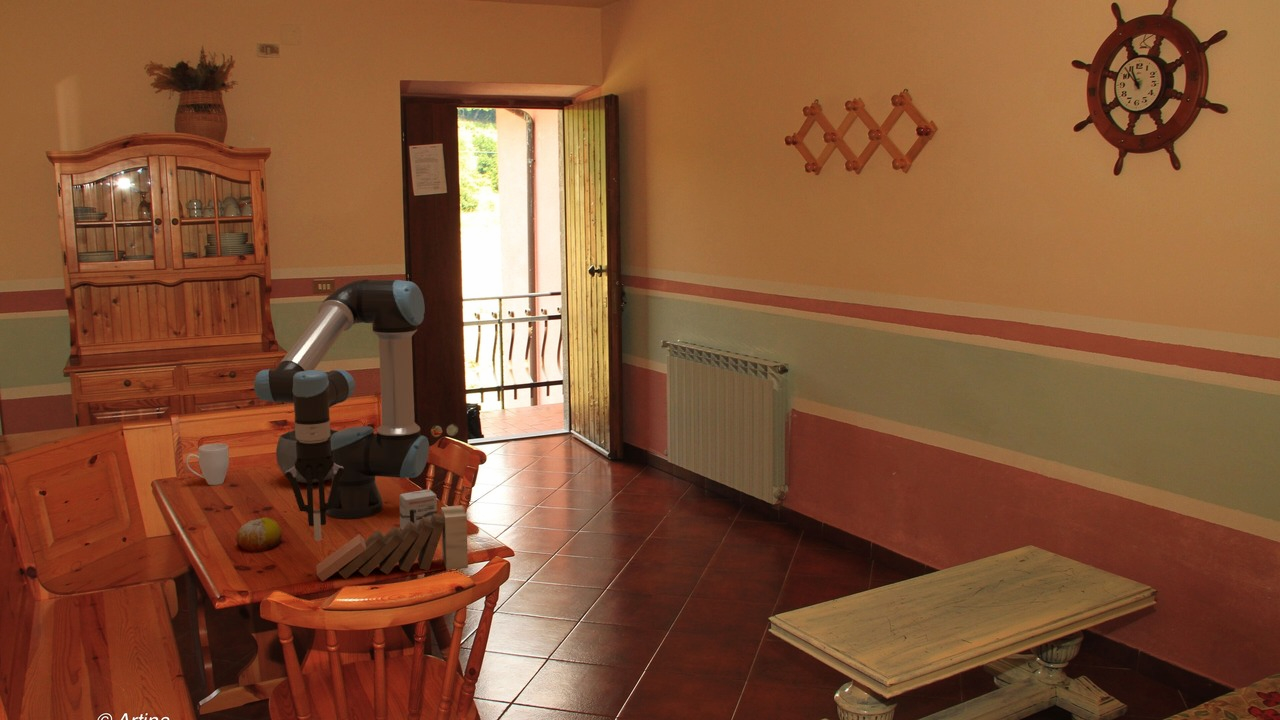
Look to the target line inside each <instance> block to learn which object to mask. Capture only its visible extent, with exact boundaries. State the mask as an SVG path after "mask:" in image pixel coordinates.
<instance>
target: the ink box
mask: <svg viewBox="0 0 1280 720" xmlns="http://www.w3.org/2000/svg"><path fill="white" fill-rule="evenodd" d="M437 500H438V499H437V494H436V493H435V492H434V491H433V490H431V489H428V488H427V489H423V490H418V491H410V492H405V493H400V494H399V530H400V531H402V530H403V529H404V528H405V526H406V525H407V524H408V523H409V521H411V522H413V523H414V524H416V525H418V524H419V522H420V520H421V518H422V517H425V518H427V519H429V520H431V518H432V515H433V513H435V514H438V504H437V503H438V501H437Z"/></svg>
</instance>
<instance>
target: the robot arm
mask: <svg viewBox="0 0 1280 720" xmlns="http://www.w3.org/2000/svg"><path fill="white" fill-rule="evenodd" d="M424 299H425V298H424V295H423V293H422V291H421V289H420V288H419V286H418V285H417V284H416V283H415V282H413V281H409V280H400V279H365V278H364V279H362V278H361V279H357V280H352V281H350V282H348V283H345V284H344V285H341V286H340V287H338V288H337V289H335V290H334V291H333V292H332V293H330V294H328V296H327V297H326V298H325V299H324V300H323V301H322V302H321V304H320V305H319V307H318V310H317V311H318V312H317V313H318V314H317V315H316V316H315V318H314V319H313V320H312V321H311V323H310V324H309V325H308V327H306V329H305V330H304V331H303V333H302V334H301V335H300V337H299V338H297V340H296V342H295V343H294V344H292V345H293V346H291V348H290V349H289V350H288V352H287V353H286V354H285V355H284V357H283V358H282V359H281V361H280V362H279V363H278V364H277V366H276V367H275V368H274V369H272V368H268V369H262V370H260V371H259V372H258V373H256V375H255V377H254V381H253V389H254V392H255V396H256V397H257V398H258V399H259V400H261V401H264V402H273V403H290V404H291V403H293V412H294V430H295V436H296V439H297V440H298V441H297V442H296V456H297V460H296V462H295V466H294V467H292V468H291V469H290V470H289V469H288V470H286V472H285V474H284V475H285V477H286V479H287V480H288V481H289V482H290V485H291V488H292V491H293V493H294V496H295V497H294V498H295V499H296V504H297V506H298V510H299V511H300V512H306V513H307V520H308V521H307V523H308V527H313V534H314V538H313V539H314V542H318V541H322V526H326V524H327V515H328V516H330V517H333V518H337V519H346V520H347V519H349V520H350V519H360V518H366V517H369V516H373V515H376V514H378V513H380V512H381V511H382V510H383V508H384V505H383V504H384V503H383V498H382V495H381V492H380V491H379V490H380V489H379V488H378V486H377V483H376V477H385V478H386V477H387V478H400V479H407V478H408V479H414V478H417V477H419V476H420V475H421V474H422V473H423V471H424V470H425V467H426V464H427V461H428V457H429V453H430V443H429V439H428V438H427V436H425V435H421V427H420V426H419V425H418V423H416V422H415V401H414V399H415V398H414V371H413V370H414V369H413V368H414V367H413V345H412V344H413V343H412V342H413V340H412V339H413V338H412V337H413V335H414V334H415V333H416V332H418V326H419V325H421V324H422V322H423V321H424V318H425V315H424V314H425V312H426V311H425V310H426V307H425V300H424ZM363 323H365V324H371V326H372V332H373V334H375V335H376V336H377V338H378V351H379V376H380V400H381V401H380V402H381V403H380V404H381V425H380V426H379V427H378V428H377V429H376V433H375V430H374V428H373V427H372V426H369V425H363V426H353V427H348V428H343V429H341V430H337V431H338V432H336V433H334V434H333V435H332V436H331V439H329V437H330V429H331V418H330V408H331V407H333V406H335V405H337V404H341V403H344V402H345V401H346V400H348V399H350V397H351V396H352V395H353V394H354V391H355V388H356V384H355V380H354V378H353V376H352V375H351V374H350V373H349V372H348V371H346V370H344V369H333V370H330V371H327V372H326V371H323V370H319V369H318V370H316V368H317V367H318V366H319V364H320V363H321V362H322V361H323V359H324V357H325V356H326V354H327V353H328V352H329V351H330V349H331V348H332V347H333V345H334V344H335V342H336V341H337V340H338V339H339V337H340V336H341V335H342V333H344V332H346V331H348V330H350V329H351V328H352V327H353V325H355V324H363ZM330 470H331V476H332V478H331V486H330V490H329V494H328V498H327V500H326V495H325V494H326V493H325V481H324V478H325V477H326V476H327V474H328V473H329V471H330ZM296 471H298V472H299V473H300V474H301V475H302V476H303V477H304V478H305V479H306V483H305V484H306V499H307V501H306V502H307V504H305V501H304V498H303V494H302V492H301V489H300V486H299V482H298V481H297V479H296V476H297V473H296ZM314 479H317V480H318V482H317V484H318V499H319V502H318V503H319V509H314V492H313V483H312V480H314ZM326 514H327V515H326Z"/></svg>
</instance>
